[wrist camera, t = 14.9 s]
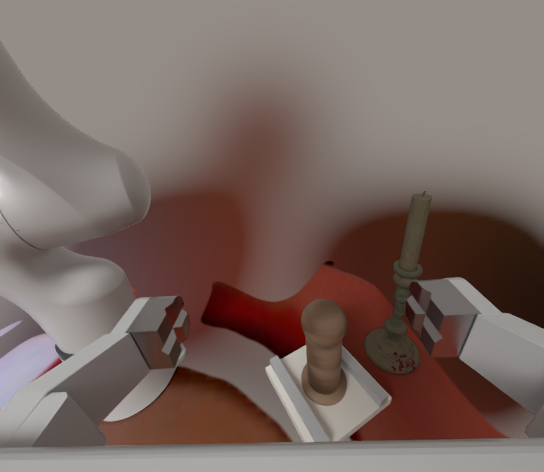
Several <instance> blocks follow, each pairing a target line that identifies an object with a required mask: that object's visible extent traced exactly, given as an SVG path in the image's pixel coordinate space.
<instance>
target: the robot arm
mask: <svg viewBox="0 0 544 472" xmlns="http://www.w3.org/2000/svg"><path fill="white" fill-rule="evenodd" d="M150 200H151V192H150V186H149V182H148V180H147V178H146V176H145V174H144V172H143V171H142V169H141V168H140V167H139V165H138V164H137V163H136V162H135V161H134V160H133V159H132V158H130V157H129V156H128V155H126V154H125V153H123V152H122V151H120V150H118V149H115V148H113V147H110V146H108V145H105V144H103V143H101V142H99V141H97V140H95V139H93V138H91V137H90V136H88V135H86V134H85V133H83V132H81V131H80V130H78V129H77V128H76V127H74V126H73V125H71V124H70V123H69V122H68V121H66V120H65V119H63V118H62V117H61V116H60V115H59V114H58V113H57V112H55V111H54V110H53V109H52V108H51V107H50V106H49V105H48V104H47V103H46V102H45V101H44V100H43V99H42V98H41V97H40V96H39V94H38V93H37V92H36V91H35V90H34V89H33V87H32V86H31V85H30V84H29V83H28V81H27V80H26V79H25V77H24V76H23V74H22V73H21V71H20V70H19V69H18V67H17V65H16V64H15V62H14V61H13V59H12V58H11V56H10V55H9V53H8V52H7V50H6V49H5V47H4V45H3V44H2V42H1V41H0V296H1V297H3V298H5V299H7V300H9V301H11V302H12V303H14V304H16V305H17V306H19V307H20V308H22V309H23V310H24V311H26V312H27V313H28V314H29V315H30V316H31V317H32V318H33V319H34V320H35V321H36V322H37V323H38V324H39V325H40V326H41V327H42V328H43V330H44V331H45V332H46V333H47V334H48V335H49V336H50V338H51V339H52V340H53V341H54V342H55V348H56V351H57V353H58V354H59V357H60V359H61V360H62V363H61V364H59V365H58V366H56V367H55V368H53V369H52V370H50V371H49V372H47V373H46V374H44V375H43V376H41V377H39V378H38V379H36V380H35V381H33V382H32V383H30V384H29V385H27V386H26V387H24V388H23V389H21V390H20V391H18V392H17V393H16V394H15V395H14V396H13V397H12V398H11V399H10V400H9V402H8V403H7V404H6V405H5V406H4V407H3V408H2V409H1V410H0V472H544V329H542V328H540V327H538V326H536V325H533V324H531V323H529V322H526V321H524V320H522V319H520V318H518V317H515V316H513V315H511V314H509V313H501V312H500V311H499V310H498V309H497V308H496V307H495V306H494V305H492V304H491V303H490V302H489V301H488V300H487V299H486V298H485V297H484V296H483V295H482V294H480V293H479V292H478V291H477V290H476V289H475V288H474V287H473V286H472V285H470V284H469V283H468V282H467V281H466V280H465V279H463V278H460V277H458V278H445V279H435V280H421V281H412V282H411V284H410V287H409V291H410V293H411V294H412V295H411V296H410V297H409V298H408V299H407V300H406V306H405V309H406V316H407V318H408V321H409V323H410V325H411V326H412V328H414V329H415V330H417V331H418V332H420V333H421V334H420V338H419V339H420V341H421V343H422V344H423V346H424V348H425V349H426V351H427V352H428V354H429V356H430V357H460V359H461V360H462V361H464V362H465V363H466V364H468V365H469V366H470V367H471V368H473V369H474V370H476V371H477V372H478V373H479V374H481V375H482V376H483V377H485V378H486V379H487V380H489V381H490V382H491V383H493V384H494V385H495V386H496V387H498V388H499V389H500V390H502V391H503V392H504V393H506V394H507V395H508V396H510V397H511V398H512V399H514V400H515V401H516V402H518V403H519V404H520V405H521V406H523V407H524V408H525V409H527V410H528V411H529V412H531V413H532V414H533V415H535V416H534V418H533V419H532V420H531V421H530V423H529V424H528V425H527V426H526V430H525V433H526V435H527V436H528V437H529V438H493V439H439V440H385V441H331V442H278V443H226V444H174V445H123V446H105V444H106V442H107V439H106V436H105V435H104V434H103V432H102V431H101V430H100V429H99V428H98V427H97V426H98V425H99V424H100V423H101V422H102V421H117V420H121V419H125V418H127V417H130V416H132V415H134V414H136V413H138V412H139V411H141V410H142V409H144V408H145V407H147V406H148V405H149V404H150V403H152V402H153V401H154V400H155V399H156V398H157V397H158V396H159V395H160V394H161V393H162V391H163V390H164V389H165V388H166V386H167V385H168V383H169V381H170V380H171V378H172V376H173V373H174V371H175V369H176V368H177V366H178V365H179V364H180V363H181V362H182V361H183V360H184V359H185V357H186V356H187V350H186V348H185V346H184V345H183V343H182V342H184V340H186V338H187V336H188V333H189V327H190V320H189V316H188V313H187V312H186V311H184V310H183V309H182V307H183V305H184V302H183V300H182V298H181V297H180V296H161V297H142V298H138V299H137V292H136V290H135V289H134V288H133V289H132V288H131V285H130V283H129V281H128V279H127V277H126V275H125V273H124V271H123V270H122V269H121V268H120V267H119V266H118V265H116V264H115V263H113V262H111V261H109V260H107V259H103V258H98V257H90V256H84V255H80V254H77V253H74V252H72V251H70V250H68V249H66V248H64V247H63V246H64V245H68V244H72V243H77V242H81V241H85V240H89V239H94V238H98V237H102V236H106V235H109V234H112V233H114V232H117V231H119V230H121V229H124V228H126V227H128V226H131V225H133V224H135V223H137V222H139V221H142V220H143V218H144V217H145V215H146V213H147V211H148V209H149V206H150Z"/></svg>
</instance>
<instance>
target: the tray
mask: <svg viewBox="0 0 544 472" xmlns="http://www.w3.org/2000/svg"><path fill="white" fill-rule="evenodd" d="M306 364H307V354H306V345H305V346H303V347H301V348H300V349H298V350H296V351H294V352H293V353H291V354H289V355H287V356H286V357H284V358H282V359H279V357H278V356H275V357H274V358H271V359H270V366H268V367H266V368H265V369H266V374H267V375H268V377H269V379H270V381H271V383H272V385H273V387H274V389H275V390H276V392H277V394H278V396H279V398H280V400H281V401H282V404H283V405H284V407H285V409H286V411H287V413H288V415H289V417H290V418H291V420H292V422H293V424H294V426H295V428H296V429H297V432H298V433H299V435H300V437H301V439H302V441H303V442H331V441H344V440H346V439H347V438H348V437H349V436H351V435H352V434H353V433H354V432H356V431H357V430H358V429H359V428H361V427H362V426H363V425H364V424H366V423H367V422H368V421H369V420H371V419H372V418H373V417H374V416H376V415H377V414H378V413H379V412H381V411H382V410H383V409H384V408H386V407H387V406H388V405H389V404H391V400H392V397H391V396H390V395H389V394H388V393H387V392H386V391H385V390H384V389H383V388H382V387H381V386H380V385H379V384H378V383H377V382H376V380H375V379H374V378H373V377H372V376H371V375H370V374H369V373H368V372H367V371H366V370H365V369H364V368H363V367H362V366H361V365H360V364H359V362H358V361H357V360H356V359H355V358H354V357H353V356H352V355H351V354H350V353H349V352H348V351H347V350H346V349H345V348H344V347H343V346H342V356H341V368H342V369H343V371H344V373H345V375H346V379H347V388H346V393H345V395H344V397H343V399H342V400H341V401H340V402H338V403H337V404H334V405H331V406H323V405H319V404H317V403H315V402H313V401H312V400H311V399H309V397H308V396H307V395H306V394H305V392H304V390H303V387H302V380H301V375H302V370H303V368H304V366H305V365H306Z"/></svg>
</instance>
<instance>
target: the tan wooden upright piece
mask: <svg viewBox="0 0 544 472" xmlns="http://www.w3.org/2000/svg"><path fill="white" fill-rule="evenodd" d="M301 325H302V329H303V332H304V334H305V335H306V354H307V364H306V365H305V366H304V368H303V370H302V375H301V380H302V387H303V390H304V392H305V394H306V395H307V396H308V397H309V399H311V400H312V401H313V402H315V403H317V404H319V405H323V406H331V405H334V404H337V403H338V402H340V401H341V400H342V399H343V397H344V395H345V393H346V388H347V379H346V375H345V373H344V371H343V369H342V368H341V356H342V338H343V337H344V335H345V333H346V330H347V319H346V315H345V313H344V311H343V309H342V308H341V307H340V306H339V305H338V304H337V303H335V302H334V301H332V300H329V299H316V300H314V301H312V302H310V303H309V304H308V305H307V306H306V307H305V309H304V310H303V313H302V317H301Z"/></svg>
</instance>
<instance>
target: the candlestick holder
mask: <svg viewBox="0 0 544 472" xmlns="http://www.w3.org/2000/svg"><path fill="white" fill-rule="evenodd" d="M431 200H432V197H431V196H430V195H427V194H425V191H424V192H423V194H414V195H413V196H412V199H411V204H410V210H409V215H408V221H407V226H406V232H405V237H404V242H403V248H402V253H401V259H400V260H398V261H396V262H395V263H394V265H393V269H394V271H395V273H394V276H393V280H394V282H395V283H396V284H397V285H398V287H397V288H396V292H395V294H394V299H395V305H394V309H393V317H391V318H388V319H386V320H385V322H384V326H385V328H377V329H374V330H372V331H370V332H369V333H368V334H367V336H366V338H365V340H364V347H365V351H366V353H367V355H368V357H369V358H370V359H371V360H372V362H373V363H374V364H376V365H377V366H378V367H380V368H381V369H383V370H385V371H387V372H391V373H394V374H407V373H411V372H412V371H414V370H415V369H416V368H417V367H418V365H419V362H420V354H419V350H418V348H417V346H416V345H415V343H414V342H413V341H412V340H411V339H410V338H409V337H407V336H406V335H405V333H406V332H407V325H406V324H405V323H404V322H403V321H402V316H403V314H404V310H405V306H406V300H407V299H408V298H409V293H410V291H409V287H410V284H411V282H412V281H418V278H417V277H418V276H420V275H421V274H422V271H423V270H422V267H421V265H419V264H418V263H417V262H418V258H419V254H420V249H421V244H422V240H423V236H424V231H425V226H426V222H427V218H428V213H429V209H430V204H431Z"/></svg>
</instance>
